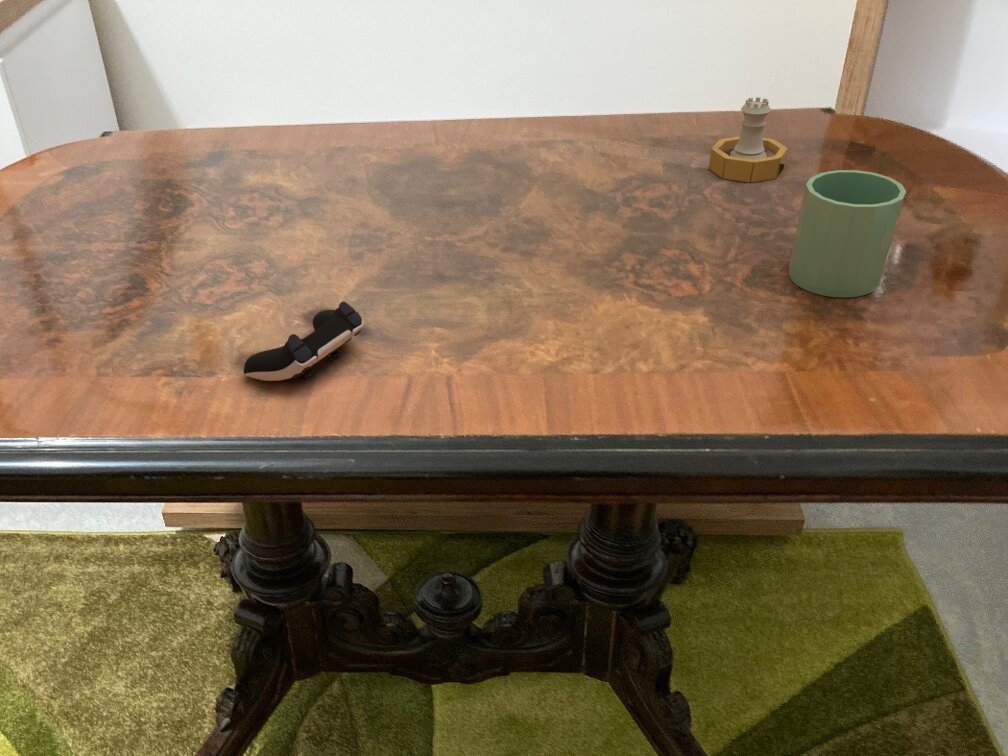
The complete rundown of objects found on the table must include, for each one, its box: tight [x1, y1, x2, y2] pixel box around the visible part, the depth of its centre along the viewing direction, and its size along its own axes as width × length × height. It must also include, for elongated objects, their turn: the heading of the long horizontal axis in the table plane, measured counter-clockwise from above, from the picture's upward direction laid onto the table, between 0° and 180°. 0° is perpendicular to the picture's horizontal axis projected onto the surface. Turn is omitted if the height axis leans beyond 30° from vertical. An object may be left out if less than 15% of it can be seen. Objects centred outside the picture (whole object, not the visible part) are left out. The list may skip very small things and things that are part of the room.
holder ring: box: [708, 135, 788, 184], centre depth 109 cm, size 8×8×2 cm
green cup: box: [788, 169, 907, 299], centre depth 86 cm, size 8×8×9 cm
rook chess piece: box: [729, 96, 772, 160], centre depth 108 cm, size 4×4×8 cm
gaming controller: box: [243, 301, 364, 382], centre depth 81 cm, size 11×4×7 cm
